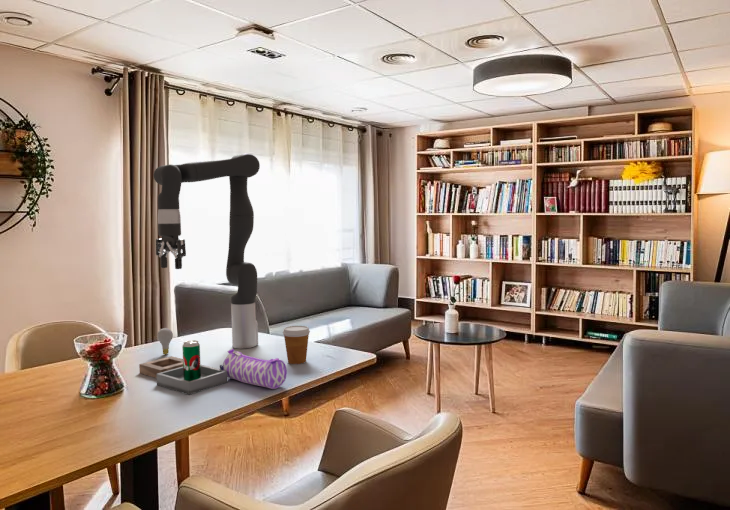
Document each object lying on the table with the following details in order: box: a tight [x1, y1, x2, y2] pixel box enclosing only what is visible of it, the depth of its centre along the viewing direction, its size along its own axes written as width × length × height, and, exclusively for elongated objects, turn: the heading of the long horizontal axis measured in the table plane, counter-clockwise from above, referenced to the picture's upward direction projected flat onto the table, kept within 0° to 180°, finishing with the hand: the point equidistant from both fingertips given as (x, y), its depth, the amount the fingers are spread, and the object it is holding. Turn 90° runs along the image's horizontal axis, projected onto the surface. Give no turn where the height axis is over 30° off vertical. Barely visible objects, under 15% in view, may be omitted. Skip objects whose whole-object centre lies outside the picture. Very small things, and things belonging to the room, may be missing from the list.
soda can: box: [181, 340, 202, 381], centre depth 164 cm, size 5×5×12 cm
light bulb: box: [156, 327, 174, 356], centre depth 200 cm, size 6×6×10 cm
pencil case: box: [219, 348, 288, 390], centre depth 165 cm, size 22×9×10 cm, turn 54°
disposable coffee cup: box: [282, 325, 311, 365], centre depth 187 cm, size 10×10×12 cm
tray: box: [156, 364, 229, 396], centre depth 165 cm, size 14×16×4 cm
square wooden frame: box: [138, 355, 183, 379], centre depth 178 cm, size 12×12×3 cm
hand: (171, 268), depth 189 cm, fingers open, 8 cm apart
